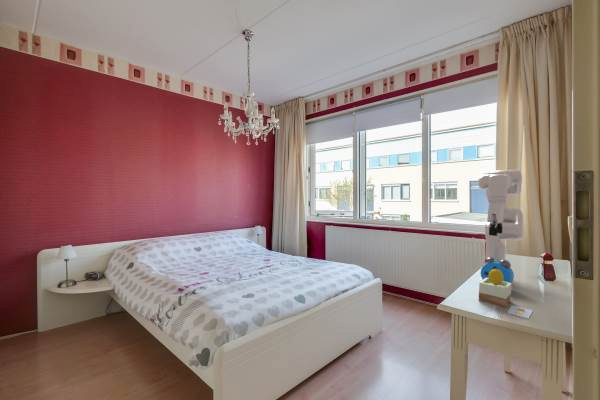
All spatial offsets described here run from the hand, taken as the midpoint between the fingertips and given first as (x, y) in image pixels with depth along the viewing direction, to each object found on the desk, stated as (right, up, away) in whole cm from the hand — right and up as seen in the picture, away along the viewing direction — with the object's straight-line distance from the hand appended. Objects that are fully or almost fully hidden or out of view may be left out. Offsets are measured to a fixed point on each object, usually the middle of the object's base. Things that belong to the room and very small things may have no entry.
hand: (495, 234), depth 138 cm
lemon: (-8, -22, -12) cm, 26 cm away
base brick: (-8, -29, -11) cm, 32 cm away
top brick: (-8, -25, -12) cm, 29 cm away
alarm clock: (+4, -28, +6) cm, 29 cm away
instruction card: (-5, -30, -22) cm, 37 cm away
